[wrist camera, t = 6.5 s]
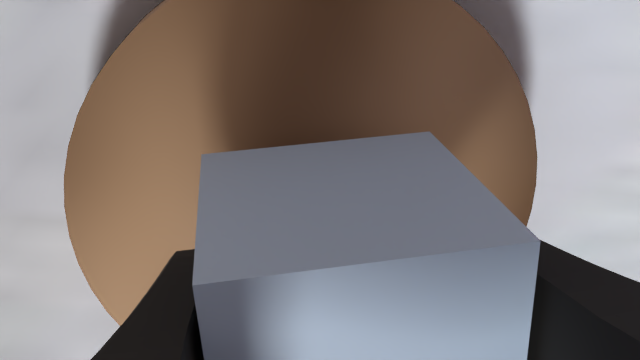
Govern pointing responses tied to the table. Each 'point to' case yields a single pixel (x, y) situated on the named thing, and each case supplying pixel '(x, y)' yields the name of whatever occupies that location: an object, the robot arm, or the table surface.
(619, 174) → the table surface
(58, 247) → the table surface
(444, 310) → the blue cube
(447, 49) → the walnut bowl
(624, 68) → the table surface
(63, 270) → the table surface
